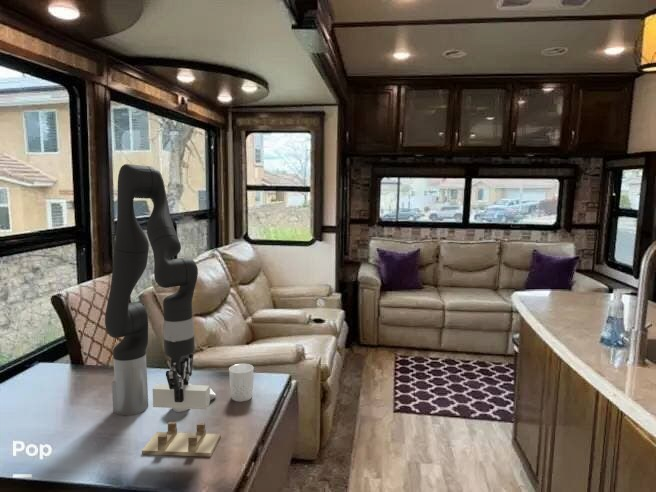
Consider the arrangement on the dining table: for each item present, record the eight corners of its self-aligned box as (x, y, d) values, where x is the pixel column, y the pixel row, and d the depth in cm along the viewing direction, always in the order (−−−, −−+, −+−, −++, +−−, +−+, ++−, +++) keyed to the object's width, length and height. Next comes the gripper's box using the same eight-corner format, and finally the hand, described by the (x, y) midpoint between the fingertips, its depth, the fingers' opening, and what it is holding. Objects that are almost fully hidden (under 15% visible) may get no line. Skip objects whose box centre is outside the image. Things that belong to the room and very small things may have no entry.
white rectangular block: (153, 407, 118) (152, 388, 118) (158, 401, 122) (157, 383, 121) (205, 409, 118) (205, 390, 117) (209, 403, 121) (209, 385, 120)
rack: (142, 454, 117) (141, 437, 116) (156, 435, 126) (156, 419, 125) (210, 456, 116) (210, 440, 115) (220, 437, 125) (220, 422, 124)
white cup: (231, 392, 153) (230, 363, 152) (254, 391, 153) (254, 363, 152) (228, 403, 145) (227, 373, 144) (252, 402, 146) (252, 372, 144)
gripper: (175, 326, 124) (177, 386, 127) (153, 344, 110) (156, 411, 113) (202, 327, 124) (204, 387, 126) (183, 344, 110) (186, 411, 112)
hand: (181, 398), depth 119 cm, fingers closed on white rectangular block, 3 cm apart
